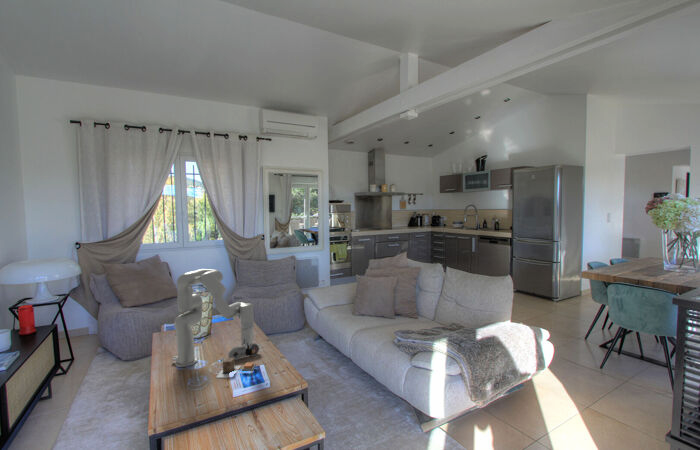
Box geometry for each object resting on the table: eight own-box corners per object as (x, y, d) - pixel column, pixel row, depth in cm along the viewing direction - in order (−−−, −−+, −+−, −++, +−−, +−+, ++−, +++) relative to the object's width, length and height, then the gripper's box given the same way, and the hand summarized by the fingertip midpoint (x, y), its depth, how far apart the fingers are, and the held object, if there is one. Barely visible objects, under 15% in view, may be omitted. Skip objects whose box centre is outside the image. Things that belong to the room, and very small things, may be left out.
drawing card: (215, 378, 191) (215, 377, 191) (225, 366, 205) (225, 365, 205) (233, 377, 191) (233, 377, 191) (241, 366, 205) (241, 365, 205)
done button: (243, 369, 195) (243, 366, 195) (246, 366, 200) (246, 362, 200) (251, 369, 195) (251, 365, 195) (253, 366, 200) (253, 362, 200)
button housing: (241, 374, 195) (241, 368, 194) (245, 368, 201) (245, 363, 201) (252, 374, 195) (252, 368, 194) (255, 368, 201) (255, 363, 201)
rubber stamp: (223, 373, 195) (222, 361, 195) (226, 369, 200) (225, 357, 200) (231, 373, 195) (231, 361, 195) (234, 369, 200) (234, 357, 200)
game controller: (229, 362, 210) (228, 349, 210) (228, 361, 212) (227, 348, 212) (259, 354, 221) (259, 342, 221) (258, 353, 223) (257, 341, 223)
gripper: (245, 320, 204) (246, 349, 205) (236, 329, 189) (238, 360, 190) (257, 320, 204) (258, 349, 204) (249, 328, 189) (251, 360, 190)
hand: (249, 354), depth 197 cm, fingers closed
